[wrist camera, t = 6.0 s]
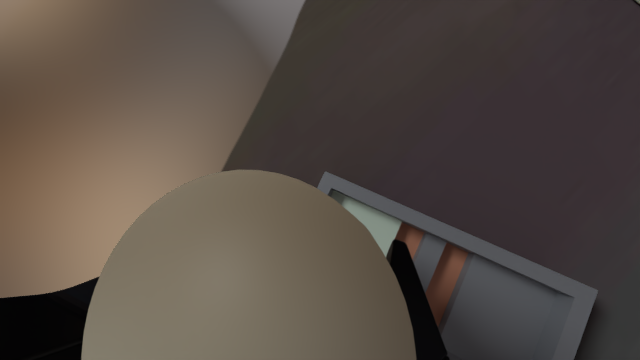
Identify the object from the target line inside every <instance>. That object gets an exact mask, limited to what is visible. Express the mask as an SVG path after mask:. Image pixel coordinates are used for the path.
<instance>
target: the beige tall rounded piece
mask: <svg viewBox="0 0 640 360" xmlns="http://www.w3.org/2000/svg"><path fill="white" fill-rule="evenodd" d="M81 360H416V351H415V343H414V335H413V328H412V324H411V320H410V317H409V313H408V309H407V305H406V301H405V299H404V296H403V293H402V291H401V288H400V286H399V283H398V281H397V278H396V276H395V274H394V272H393V270H392V268H391V266H390V264H389V263H388V261H387V259H386V257H385V255H384V253H383V252H382V250H381V249H380V247H379V245H378V244H377V242H376V241H375V239H374V238H373V236H372V235H371V233H370V232H369V230H368V229H367V228H366V226H365V225H364V224H363V223H361V222H360V221H359V220H358V219H357V218H356V217H355V216H354V215H352V214H351V213H350V212H349V211H348V210H346V209H345V208H344V207H343V206H342V205H341V204H339V203H338V202H337V201H336V200H334V199H333V198H331V197H330V196H328V195H327V194H325V193H323V192H322V191H320V190H319V189H317V188H315V187H313V186H311V185H309V184H307V183H304V182H302V181H300V180H298V179H295V178H292V177H288V176H285V175H282V174H279V173H273V172H267V171H260V170H233V171H225V172H218V173H215V174H211V175H207V176H203V177H200V178H198V179H195V180H193V181H190V182H188V183H185V184H183V185H181V186H180V187H178V188H176V189H174V190H173V191H171V192H169V193H167V194H166V195H165V196H163V197H162V198H160V199H159V200H158V201H156V202H155V203H154V204H152V205H151V206H150V207H149V208H148V209H147V210H146V211H145V212H144V213H142V214H141V215H140V216H139V217H138V218H137V219H136V221H135V222H134V223H133V224H132V225H131V227H130V228H129V229H128V230H127V231H126V232H125V234H124V235H123V236H122V238H121V239H120V241H119V242H118V244H117V245H116V246H115V248H114V249H113V251H112V253H111V255H110V257H109V258H108V260H107V262H106V264H105V266H104V268H103V270H102V272H101V275H100V277H99V279H98V282H97V284H96V287H95V289H94V292H93V296H92V299H91V302H90V306H89V309H88V313H87V318H86V323H85V328H84V335H83V345H82V355H81Z"/></svg>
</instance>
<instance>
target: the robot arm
mask: <svg viewBox="0 0 640 360" xmlns="http://www.w3.org/2000/svg"><path fill="white" fill-rule="evenodd" d="M386 259H387V261H388V263H389V264H390V266H391V268H392V270H393V272H394V274H395V276H396V278H397V281H398V283H399V286H400V288H401V291H402V293H403V296H404V299H405V301H406V305H407V309H408V313H409V317H410V320H411V324H412V328H413V335H414V343H415V351H416V360H450V358H449V357H448V356H447V355H448V353H447V350H446V347H445V345H444V342H443V339H442V337H441V334H440V331H439V329H438V326H437V323H436V321H435V318H434V316H433V313H432V310H431V308H430V305H429V302H428V300H427V297H426V294H425V292H424V289H423V286H422V284H421V281H420V278H419V276H418V273H417V270H416V268H415V265H414V262H413V260H412V257H411V254H410V252H409V249H408V246H407V244H406V243H405V242H403V241H400V240H397V239H394V240H393V241H392V243H391V245H390V248H389V250H388V253H387V255H386ZM99 277H100V276H99ZM99 277H97V278H94V279H92V280H89V281H87V282H84V283H82V284H79V285H77V286H74V287H71V288H67V289H65V290H60V291H56V292H53V293H46V294H40V295H30V296H18V297H7V298H0V360H81V355H82V345H83V335H84V328H85V323H86V318H87V313H88V309H89V306H90V302H91V299H92V296H93V292H94V289H95V287H96V284H97V282H98V279H99Z"/></svg>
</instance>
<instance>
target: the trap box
mask: <svg viewBox="0 0 640 360" xmlns="http://www.w3.org/2000/svg"><path fill="white" fill-rule="evenodd" d="M317 189H319V190H320V191H322V192H323V193H325V194H327V195H328V196H330V197H331V198H333V199H334V200H336V201H337V202H338V203H339V204H341V205H342V206H343V207H344V208H345V209H346V210H348V211H349V212H350V213H351V214H352V215H354V216H355V217H356V218H357V219H358V220H359V221H360V222H361V223H363V224H364V225H365V226H366V228H367V229H368V230H369V232H370V233H371V235H372V236H373V238H374V239H375V241H376V242H377V244H378V245H379V247H380V249H381V250H382V252H383V253H384V255H385V257H386V255H387V253H388V250H389V248H390V245H391V243H392V241H393V240H394V239H397V240H400V241H403V242H405V243H406V244H407V246H408V249H409V252H410V254H411V257H412V260H413V262H414V265H415V268H416V270H417V273H418V276H419V278H420V281H421V284H422V286H423V289H424V292H425V294H426V297H427V300H428V302H429V305H430V308H431V310H432V313H433V316H434V318H435V321H436V323H437V326H438V329H439V331H440V334H441V337H442V339H443V342H444V345H445V347H446V350H447V353H448V355H447V356H448V357H449V358H450V360H574V358H575V355H576V352H577V349H578V346H579V344H580V341H581V338H582V335H583V332H584V329H585V327H586V324H587V321H588V318H589V315H590V313H591V310H592V307H593V304H594V301H595V298H596V296H597V293H598V290H596V289H593V288H591V287H589V286H587V285H584V284H582V283H580V282H577V281H575V280H573V279H571V278H568V277H566V276H564V275H561V274H559V273H557V272H555V271H552V270H550V269H548V268H545V267H543V266H541V265H539V264H536V263H534V262H532V261H529V260H527V259H525V258H523V257H520V256H518V255H516V254H513V253H511V252H509V251H507V250H504V249H502V248H500V247H497V246H495V245H493V244H491V243H488V242H486V241H484V240H481V239H479V238H477V237H474V236H472V235H470V234H468V233H465V232H463V231H461V230H458V229H456V228H454V227H452V226H449V225H447V224H445V223H442V222H440V221H438V220H436V219H433V218H431V217H429V216H426V215H424V214H422V213H420V212H417V211H415V210H413V209H410V208H408V207H406V206H404V205H401V204H399V203H397V202H394V201H392V200H390V199H388V198H385V197H383V196H381V195H378V194H376V193H374V192H372V191H369V190H367V189H365V188H362V187H360V186H358V185H356V184H353V183H351V182H349V181H346V180H344V179H342V178H340V177H337V176H335V175H333V174H330V173H328V172H326V171H325V173H324V175H323V177H322V179H321V181H320V183H319V185H318V188H317Z"/></svg>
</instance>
